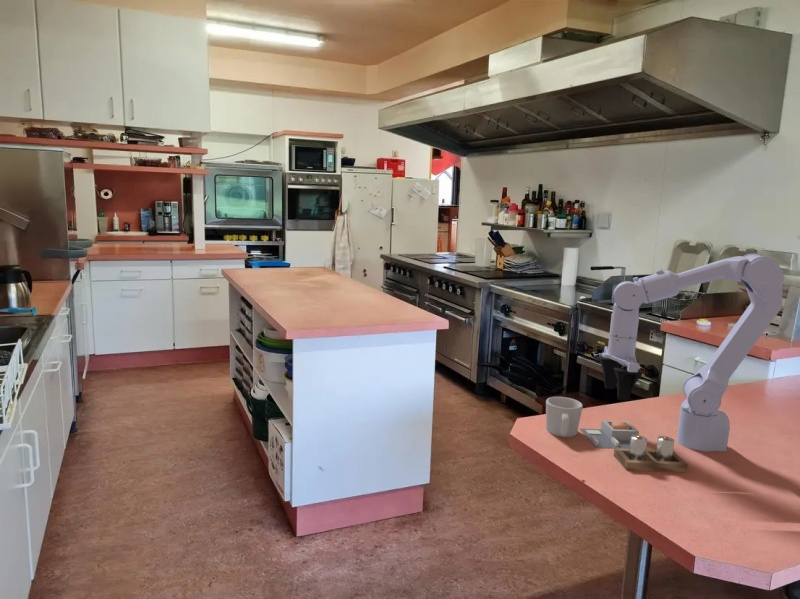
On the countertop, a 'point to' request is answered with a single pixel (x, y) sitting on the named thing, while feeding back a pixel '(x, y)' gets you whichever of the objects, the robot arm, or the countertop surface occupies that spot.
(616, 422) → the button
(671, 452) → the cell
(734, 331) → the robot arm
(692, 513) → the countertop surface
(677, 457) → the wooden divided tray
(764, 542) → the countertop surface
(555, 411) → the cup
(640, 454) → the cylinder
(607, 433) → the grey board with box
